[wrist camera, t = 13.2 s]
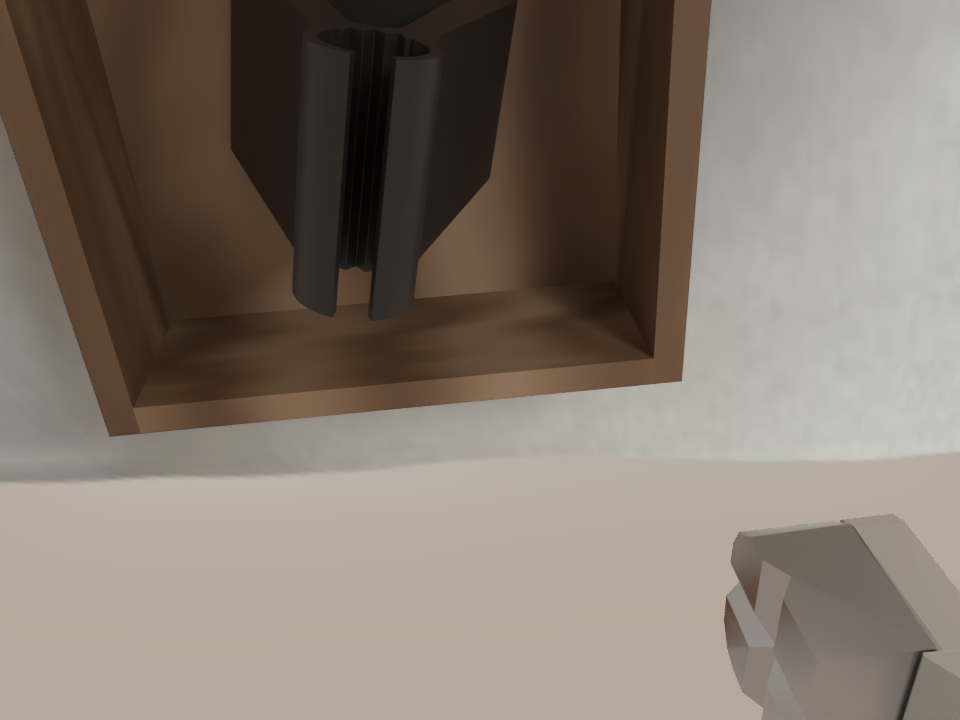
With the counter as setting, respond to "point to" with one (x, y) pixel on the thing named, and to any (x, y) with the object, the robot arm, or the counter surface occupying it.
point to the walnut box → (350, 332)
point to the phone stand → (366, 129)
